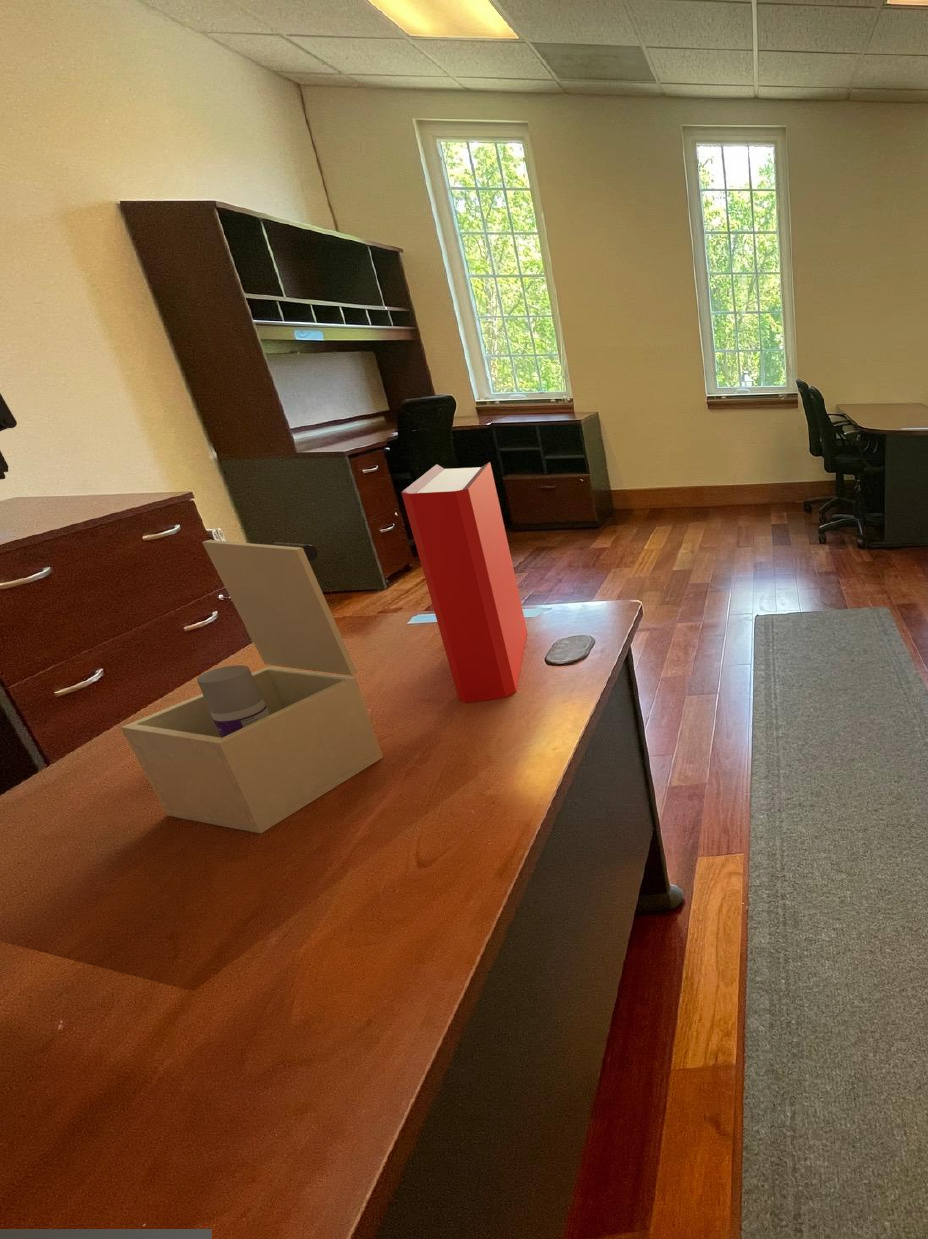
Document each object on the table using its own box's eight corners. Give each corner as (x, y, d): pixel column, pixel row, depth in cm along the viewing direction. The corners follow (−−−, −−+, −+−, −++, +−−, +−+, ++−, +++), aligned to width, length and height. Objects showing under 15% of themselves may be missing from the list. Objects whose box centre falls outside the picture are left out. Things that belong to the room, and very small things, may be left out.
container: (235, 791, 80) (184, 680, 74) (275, 769, 84) (229, 662, 78) (265, 797, 79) (216, 685, 73) (304, 775, 83) (260, 667, 77)
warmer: (260, 833, 74) (219, 743, 69) (166, 815, 77) (120, 727, 72) (383, 757, 88) (356, 677, 83) (300, 744, 91) (268, 666, 86)
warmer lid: (296, 549, 75) (339, 534, 79) (201, 541, 78) (248, 527, 82) (352, 675, 83) (388, 655, 87) (264, 664, 86) (304, 645, 90)
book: (480, 638, 125) (436, 464, 112) (527, 632, 127) (490, 461, 114) (457, 704, 101) (398, 494, 88) (515, 695, 104) (466, 490, 91)
